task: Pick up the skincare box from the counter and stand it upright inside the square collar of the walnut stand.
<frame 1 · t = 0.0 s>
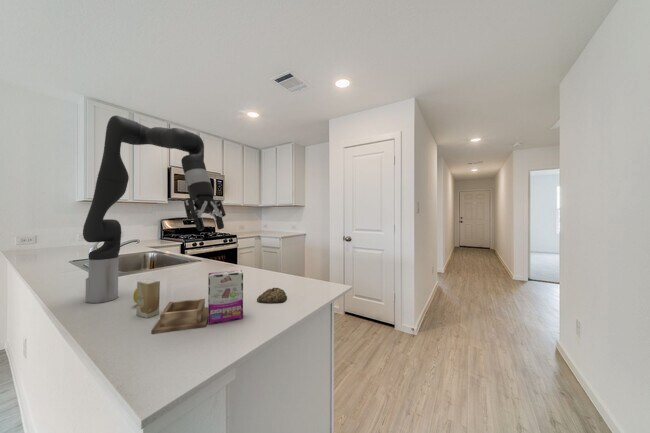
hand: (211, 229, 82), 31 cm above the counter, tool tilted 20°, fingers open, 8 cm apart
lemon: (142, 305, 96), on the counter
bread roll: (272, 299, 107), on the counter
candy bar box: (225, 319, 85), on the counter
skincare box: (147, 315, 87), on the counter
walnut stand: (184, 320, 83), on the counter
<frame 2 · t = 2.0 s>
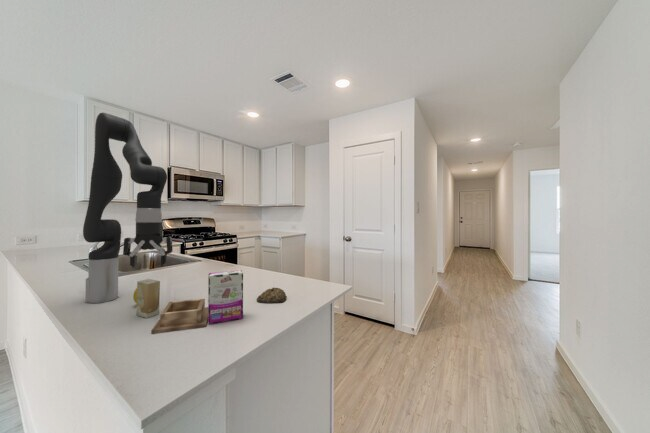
hand: (148, 266, 87), 17 cm above the counter, tool pointing down, fingers open, 8 cm apart
nothing on the counter moved.
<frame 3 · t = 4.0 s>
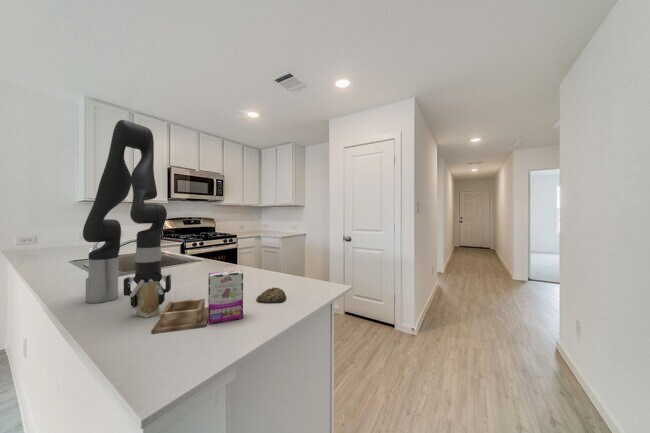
hand: (147, 305, 87), 3 cm above the counter, tool pointing down, fingers closed on skincare box, 7 cm apart
skincare box: (147, 315, 87), on the counter, touching gripper
everything else where it was.
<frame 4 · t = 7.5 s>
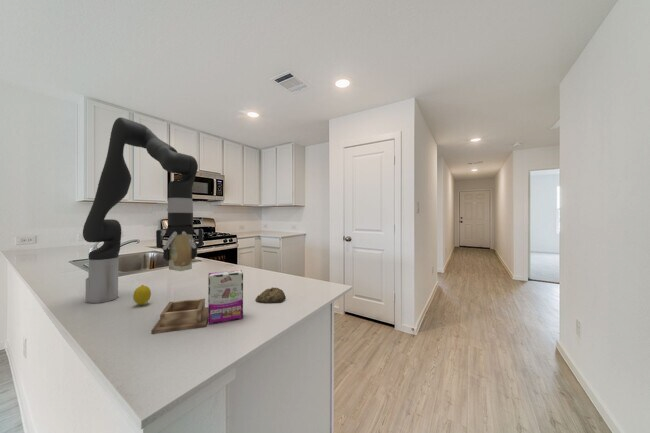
hand: (180, 259, 84), 21 cm above the counter, tool pointing down, fingers closed on skincare box, 7 cm apart
skincare box: (180, 270, 84), point 17 cm above the counter, touching gripper
everything else where it was.
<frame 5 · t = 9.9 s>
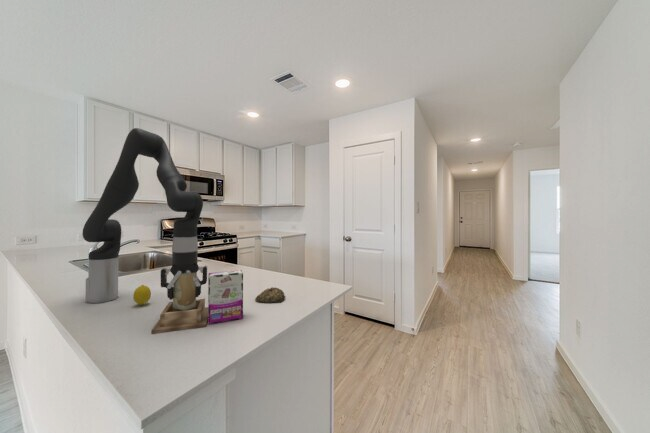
hand: (184, 297, 83), 8 cm above the counter, tool pointing down, fingers closed on skincare box, 7 cm apart
skincare box: (184, 308, 83), point 4 cm above the counter, touching gripper
everything else where it was.
when the fingers open (6 cm above the counter, at t = 11.4 s): skincare box drops 2 cm, resting on walnut stand.
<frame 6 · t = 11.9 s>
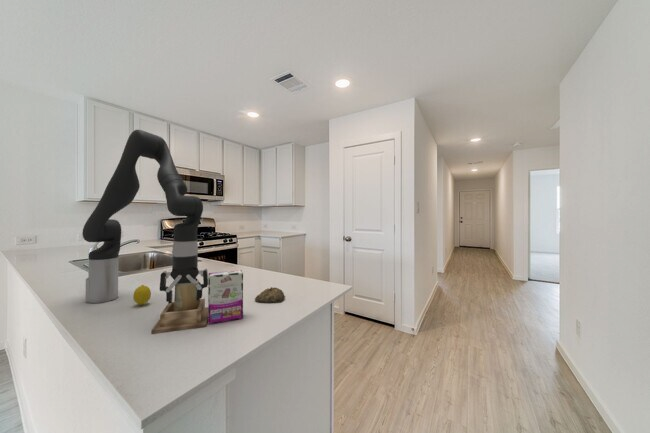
hand: (184, 301, 83), 7 cm above the counter, tool pointing down, fingers open, 8 cm apart
skincare box: (185, 317, 84), point 1 cm above the counter, touching gripper, walnut stand
everything else where it was.
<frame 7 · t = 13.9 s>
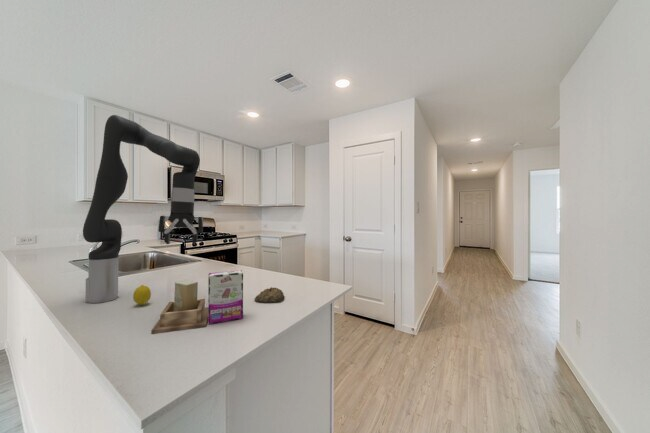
hand: (181, 243, 92), 25 cm above the counter, tool pointing down, fingers open, 8 cm apart
skincare box: (185, 317, 84), point 1 cm above the counter, touching walnut stand
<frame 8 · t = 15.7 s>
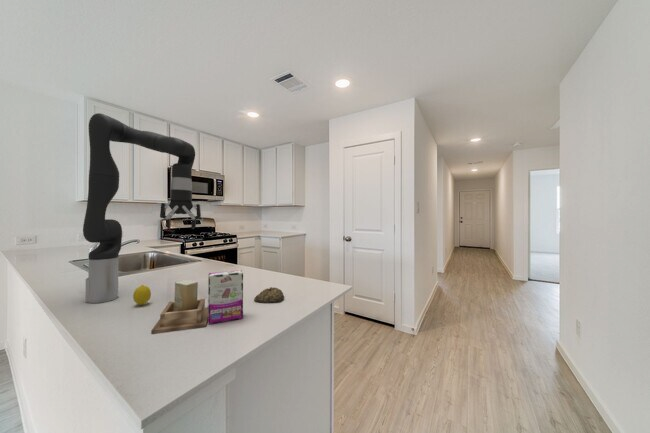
hand: (180, 228, 100), 30 cm above the counter, tool pointing down, fingers open, 8 cm apart
at the end: skincare box 0.4 cm off-centre on the walnut stand, point 0.8 cm above the walnut stand's base; skincare box tilted 0°; the gripper is holding nothing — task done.
